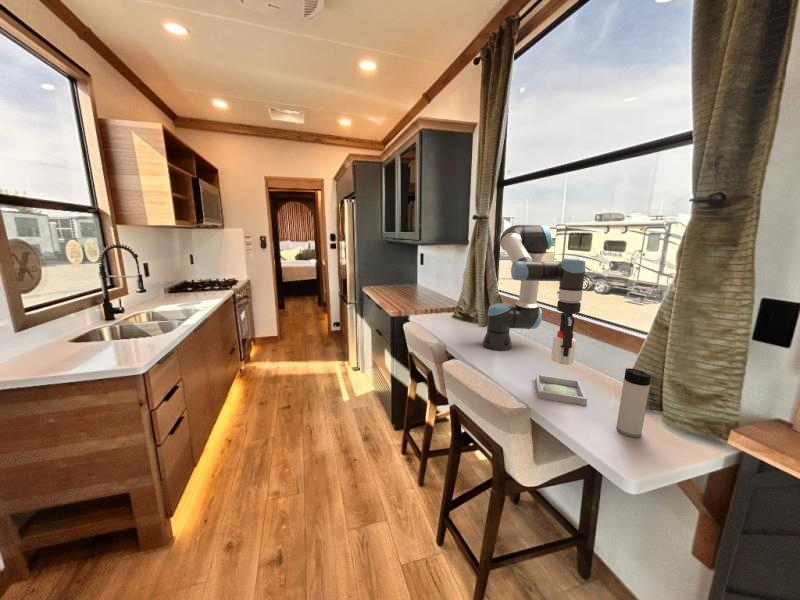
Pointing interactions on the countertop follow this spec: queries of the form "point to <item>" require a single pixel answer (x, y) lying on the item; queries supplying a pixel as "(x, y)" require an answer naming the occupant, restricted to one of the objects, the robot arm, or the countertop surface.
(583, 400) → the shallow grey tray
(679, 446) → the countertop surface
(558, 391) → the pad
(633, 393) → the travel mug
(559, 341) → the pill bottle
